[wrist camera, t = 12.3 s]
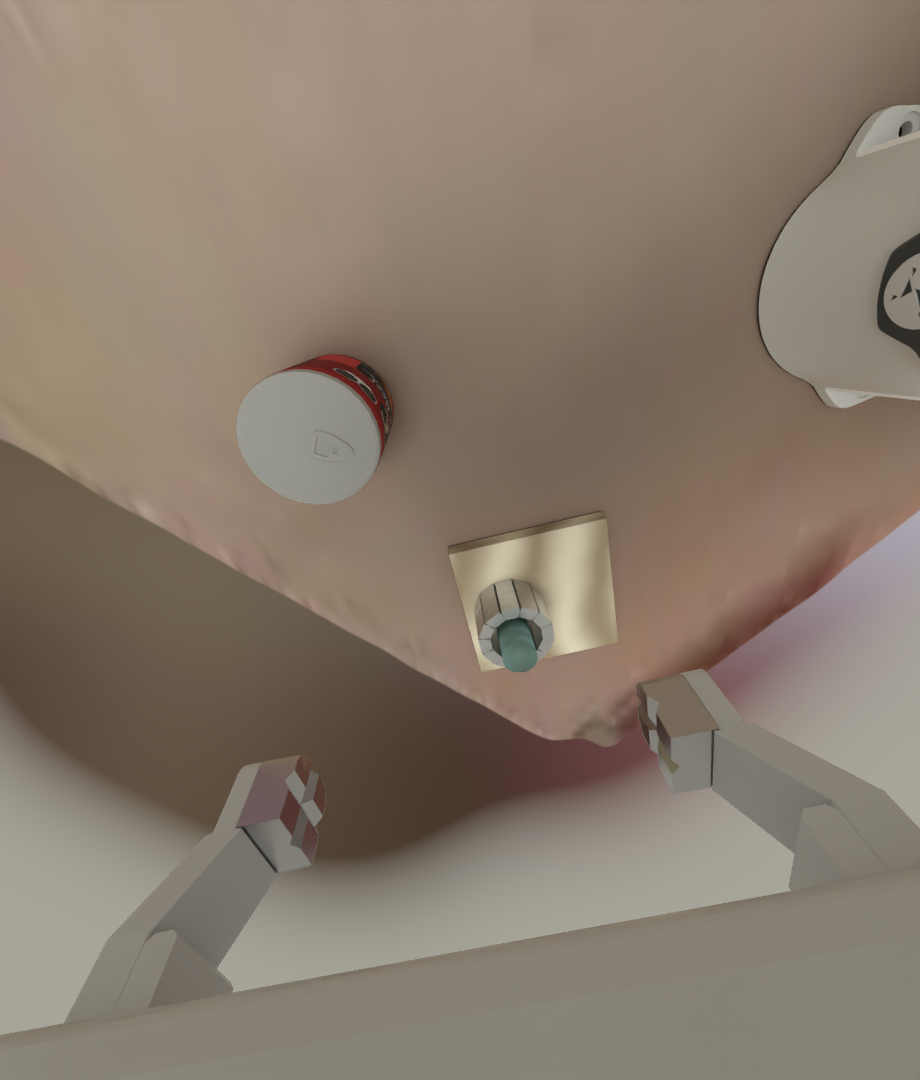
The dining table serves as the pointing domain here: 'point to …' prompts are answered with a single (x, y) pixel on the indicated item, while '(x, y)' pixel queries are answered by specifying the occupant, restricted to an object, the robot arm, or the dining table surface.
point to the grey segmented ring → (511, 616)
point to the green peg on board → (544, 585)
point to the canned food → (316, 428)
